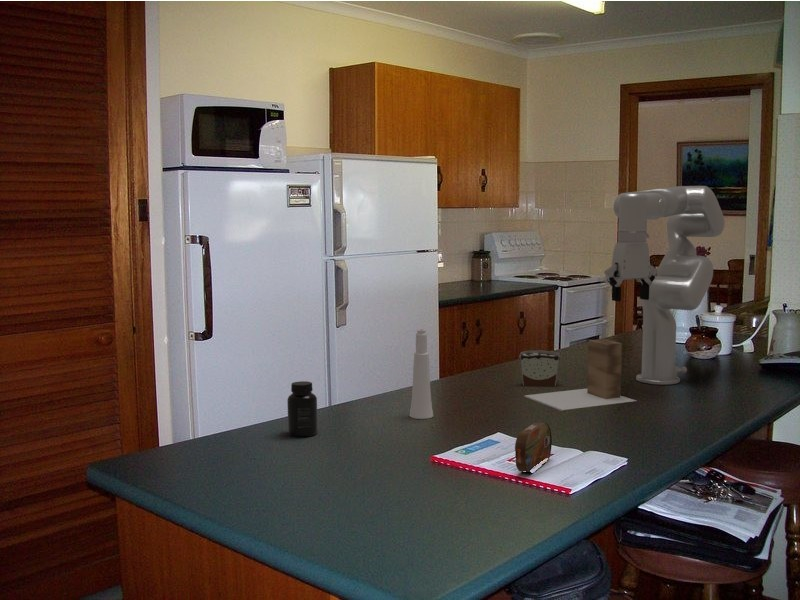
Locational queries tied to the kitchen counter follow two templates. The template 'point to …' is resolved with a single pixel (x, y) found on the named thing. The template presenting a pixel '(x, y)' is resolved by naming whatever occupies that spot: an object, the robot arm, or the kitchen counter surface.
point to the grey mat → (574, 399)
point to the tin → (533, 446)
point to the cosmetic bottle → (421, 380)
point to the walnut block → (604, 368)
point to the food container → (539, 368)
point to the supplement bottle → (302, 410)
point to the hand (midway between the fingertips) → (630, 300)
